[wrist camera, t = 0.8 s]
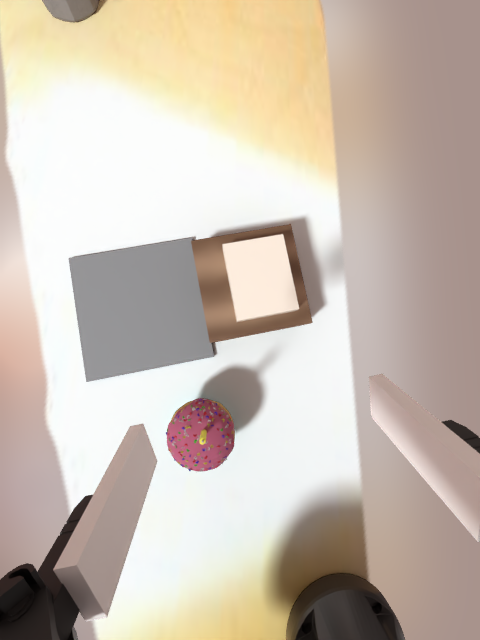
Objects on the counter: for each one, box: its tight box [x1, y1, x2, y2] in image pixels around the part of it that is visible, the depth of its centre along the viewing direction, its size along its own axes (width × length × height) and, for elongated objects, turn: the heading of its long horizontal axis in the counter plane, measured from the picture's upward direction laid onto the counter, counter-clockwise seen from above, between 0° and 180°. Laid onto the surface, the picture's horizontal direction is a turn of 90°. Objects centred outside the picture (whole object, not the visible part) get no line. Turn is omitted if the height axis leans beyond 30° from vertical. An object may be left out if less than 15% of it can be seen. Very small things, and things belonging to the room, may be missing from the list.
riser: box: [191, 224, 312, 343], centre depth 36 cm, size 14×14×4 cm
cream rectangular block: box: [222, 234, 299, 322], centre depth 33 cm, size 10×8×2 cm
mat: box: [69, 238, 214, 382], centre depth 37 cm, size 18×18×1 cm
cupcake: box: [166, 398, 235, 471], centre depth 30 cm, size 9×8×12 cm
